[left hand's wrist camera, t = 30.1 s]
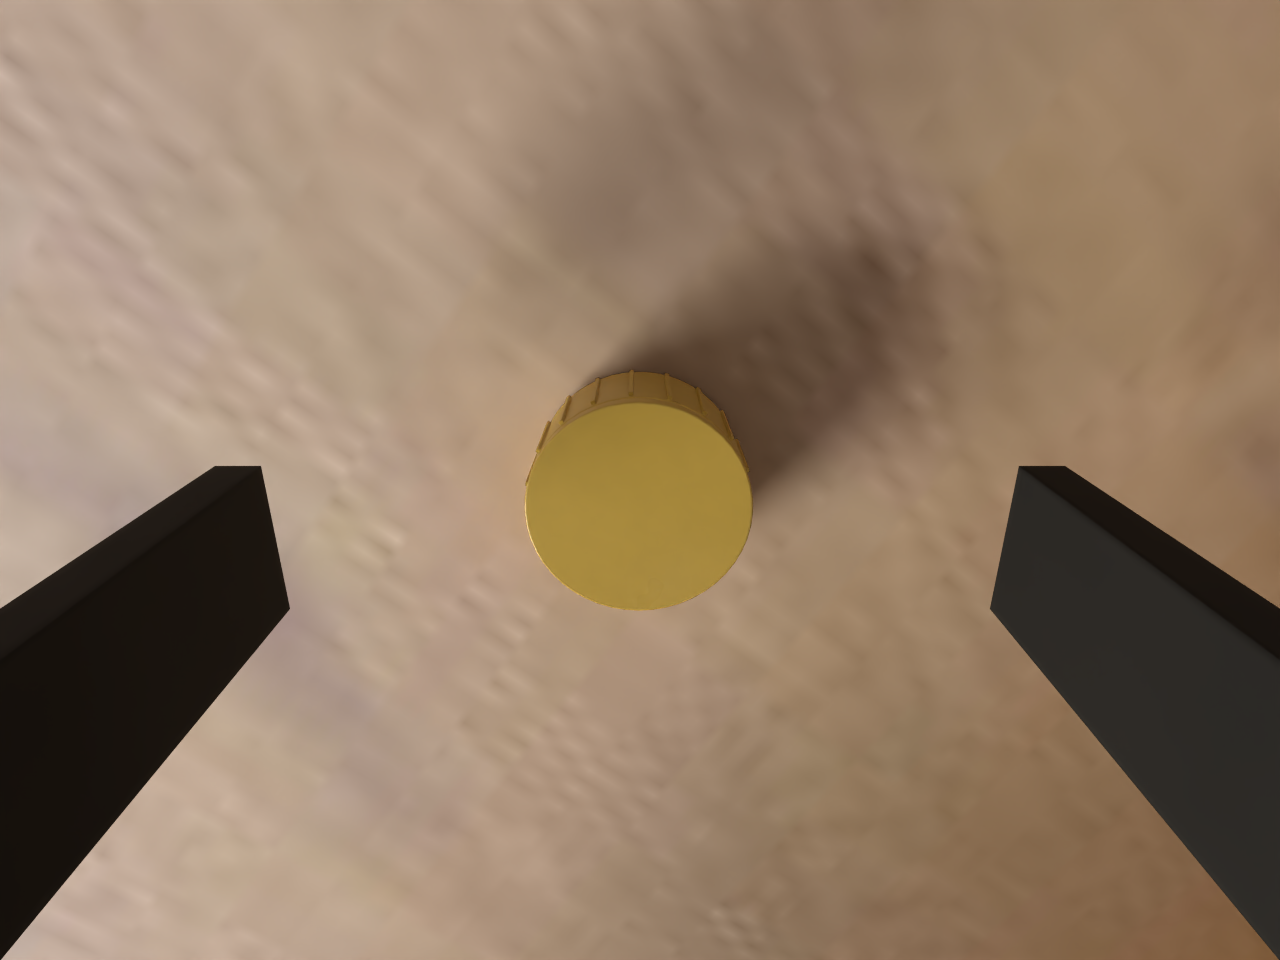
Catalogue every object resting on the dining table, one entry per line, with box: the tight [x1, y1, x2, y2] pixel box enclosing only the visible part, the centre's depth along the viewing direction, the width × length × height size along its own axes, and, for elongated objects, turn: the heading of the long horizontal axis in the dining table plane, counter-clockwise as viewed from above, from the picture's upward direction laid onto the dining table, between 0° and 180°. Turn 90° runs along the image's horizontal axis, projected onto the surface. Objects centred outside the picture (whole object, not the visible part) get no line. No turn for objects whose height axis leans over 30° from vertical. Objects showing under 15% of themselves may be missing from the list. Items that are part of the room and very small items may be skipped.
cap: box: [525, 370, 753, 610], centre depth 15 cm, size 4×4×2 cm
